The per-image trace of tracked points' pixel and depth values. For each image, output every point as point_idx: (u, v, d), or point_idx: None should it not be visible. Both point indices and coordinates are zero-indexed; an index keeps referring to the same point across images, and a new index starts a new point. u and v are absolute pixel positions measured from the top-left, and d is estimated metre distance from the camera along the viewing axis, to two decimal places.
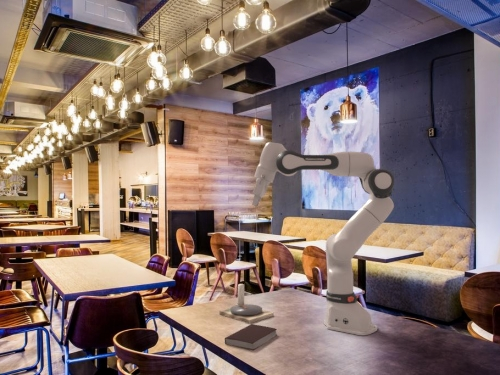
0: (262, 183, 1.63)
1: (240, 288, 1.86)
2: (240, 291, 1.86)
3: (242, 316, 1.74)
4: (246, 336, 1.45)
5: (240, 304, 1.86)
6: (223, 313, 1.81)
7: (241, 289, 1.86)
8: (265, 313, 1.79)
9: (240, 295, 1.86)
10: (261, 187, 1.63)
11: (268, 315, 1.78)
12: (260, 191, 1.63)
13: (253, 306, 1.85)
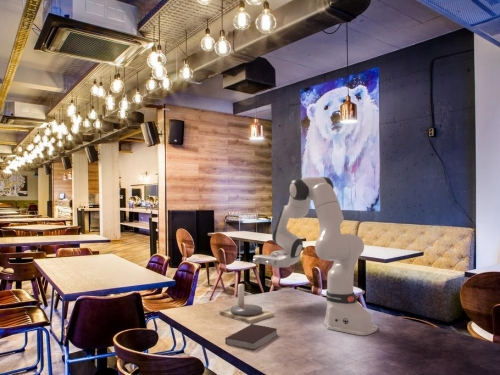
0: None
1: (240, 288, 1.86)
2: (240, 291, 1.86)
3: (242, 316, 1.74)
4: (247, 336, 1.45)
5: (240, 304, 1.86)
6: (223, 313, 1.81)
7: (241, 289, 1.86)
8: (265, 313, 1.79)
9: (240, 295, 1.86)
10: None
11: (268, 315, 1.78)
12: None
13: (253, 306, 1.85)
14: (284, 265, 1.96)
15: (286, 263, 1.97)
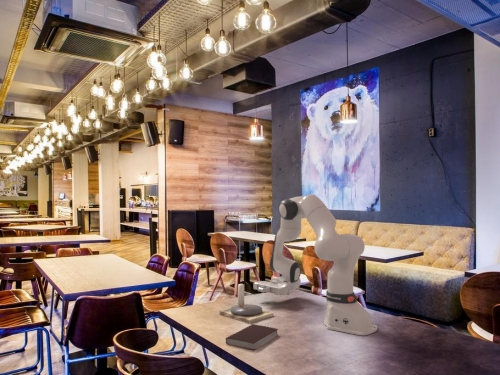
0: None
1: (240, 288, 1.86)
2: (240, 291, 1.86)
3: (242, 316, 1.74)
4: (247, 336, 1.45)
5: (240, 304, 1.86)
6: (223, 313, 1.81)
7: (241, 289, 1.86)
8: (265, 313, 1.79)
9: (240, 295, 1.86)
10: None
11: (268, 315, 1.78)
12: None
13: (253, 306, 1.85)
14: (284, 293, 1.96)
15: (286, 291, 1.97)
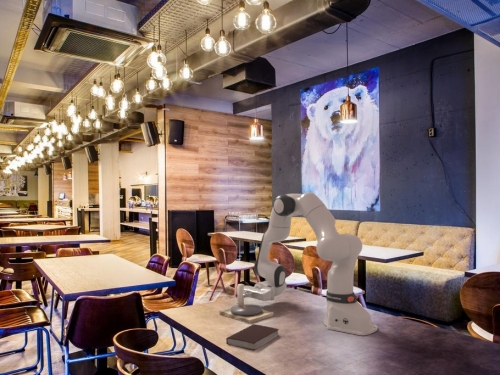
0: None
1: (240, 288, 1.86)
2: (240, 291, 1.86)
3: (242, 316, 1.74)
4: (248, 336, 1.45)
5: (240, 304, 1.85)
6: (223, 313, 1.81)
7: (241, 289, 1.86)
8: (265, 313, 1.79)
9: (240, 295, 1.86)
10: None
11: (268, 315, 1.78)
12: None
13: (253, 306, 1.85)
14: (267, 299, 1.86)
15: (269, 297, 1.88)
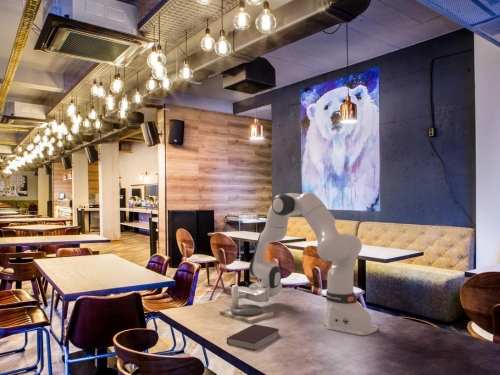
0: None
1: (236, 289, 1.83)
2: (236, 292, 1.83)
3: (242, 316, 1.74)
4: (248, 336, 1.45)
5: (236, 305, 1.83)
6: (223, 313, 1.81)
7: (237, 290, 1.84)
8: (265, 313, 1.79)
9: (236, 296, 1.83)
10: None
11: (268, 315, 1.78)
12: None
13: (247, 305, 1.86)
14: (262, 300, 1.84)
15: (264, 298, 1.85)
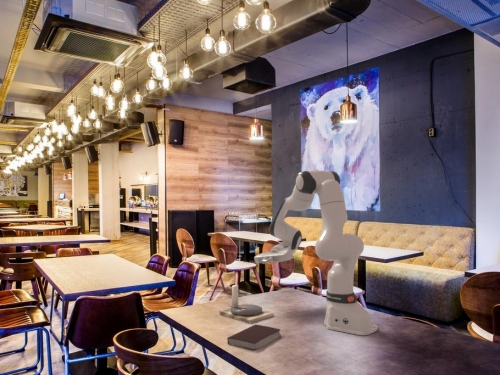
0: None
1: (236, 289, 1.83)
2: (236, 292, 1.83)
3: (242, 316, 1.74)
4: (249, 336, 1.45)
5: (236, 305, 1.83)
6: (223, 313, 1.81)
7: (237, 290, 1.84)
8: (265, 313, 1.79)
9: (236, 296, 1.83)
10: None
11: (268, 315, 1.78)
12: None
13: (247, 305, 1.86)
14: (288, 258, 1.94)
15: (289, 256, 1.95)
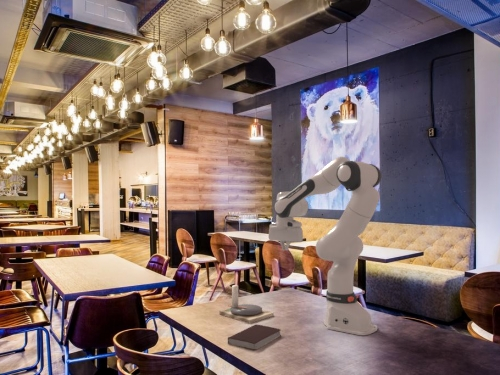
0: None
1: (236, 289, 1.83)
2: (236, 292, 1.83)
3: (242, 316, 1.74)
4: (249, 336, 1.45)
5: (236, 305, 1.83)
6: (223, 313, 1.81)
7: (237, 290, 1.84)
8: (265, 313, 1.79)
9: (236, 296, 1.83)
10: None
11: (268, 315, 1.78)
12: None
13: (247, 305, 1.86)
14: (302, 236, 1.91)
15: (301, 233, 1.91)
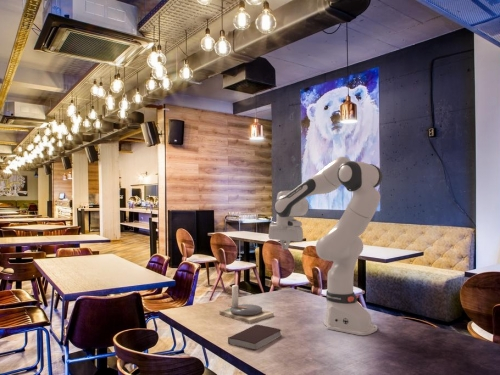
0: None
1: (236, 289, 1.83)
2: (236, 292, 1.83)
3: (242, 316, 1.74)
4: (249, 336, 1.45)
5: (236, 305, 1.83)
6: (223, 313, 1.81)
7: (237, 290, 1.84)
8: (265, 313, 1.79)
9: (236, 296, 1.83)
10: None
11: (268, 315, 1.78)
12: None
13: (247, 305, 1.86)
14: (302, 235, 1.91)
15: (301, 232, 1.91)
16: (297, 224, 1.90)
